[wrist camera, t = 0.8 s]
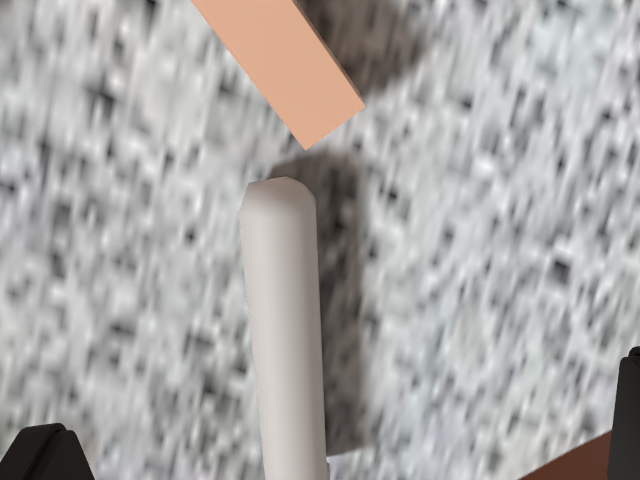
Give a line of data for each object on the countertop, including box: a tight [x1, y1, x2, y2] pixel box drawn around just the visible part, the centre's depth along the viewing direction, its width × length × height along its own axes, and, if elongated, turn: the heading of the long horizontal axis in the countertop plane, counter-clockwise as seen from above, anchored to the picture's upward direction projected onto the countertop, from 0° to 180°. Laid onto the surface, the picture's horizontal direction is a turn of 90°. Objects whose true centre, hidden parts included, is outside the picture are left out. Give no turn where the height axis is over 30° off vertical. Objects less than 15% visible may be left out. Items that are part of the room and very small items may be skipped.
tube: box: [238, 176, 330, 480], centre depth 38 cm, size 5×5×25 cm
